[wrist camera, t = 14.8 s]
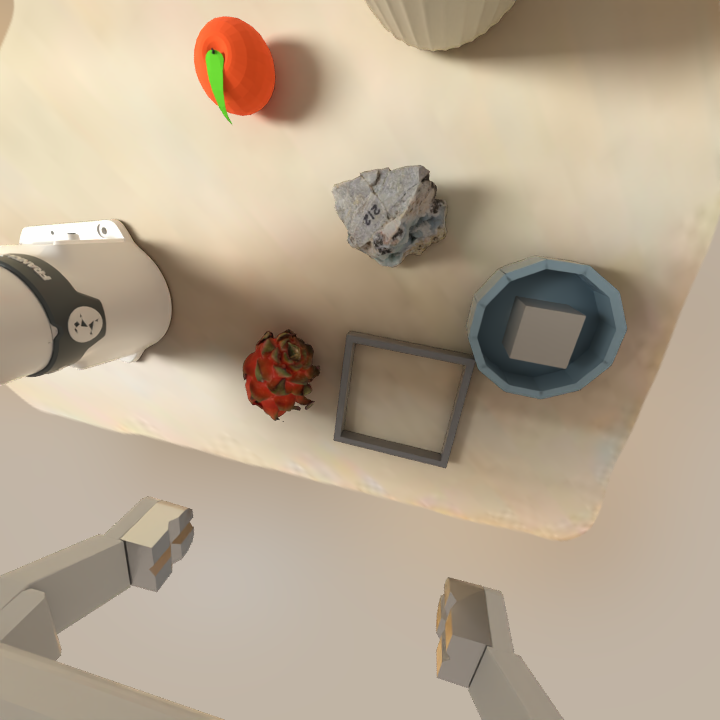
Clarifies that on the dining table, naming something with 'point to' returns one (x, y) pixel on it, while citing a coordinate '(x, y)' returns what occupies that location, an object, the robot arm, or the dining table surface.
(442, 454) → the tray
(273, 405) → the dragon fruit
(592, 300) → the bowl
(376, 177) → the mineral specimen
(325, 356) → the dining table surface
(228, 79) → the clementine
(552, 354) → the pebble block
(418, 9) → the canister
